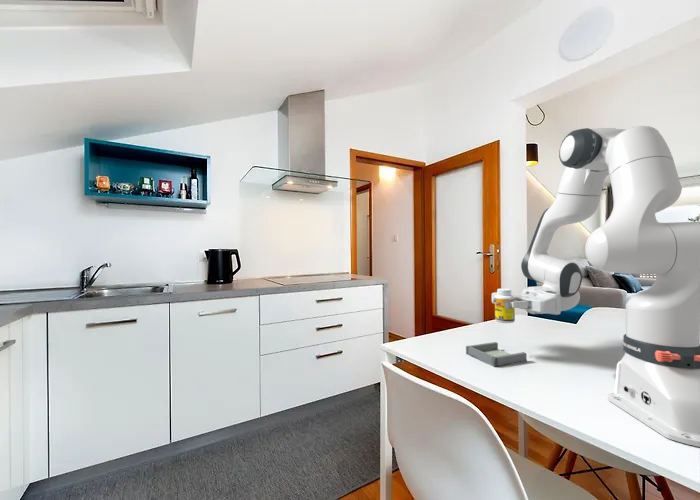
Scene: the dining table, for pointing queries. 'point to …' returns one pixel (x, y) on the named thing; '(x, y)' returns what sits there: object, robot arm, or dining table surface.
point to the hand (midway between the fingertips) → (502, 303)
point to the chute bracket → (494, 354)
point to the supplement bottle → (504, 306)
